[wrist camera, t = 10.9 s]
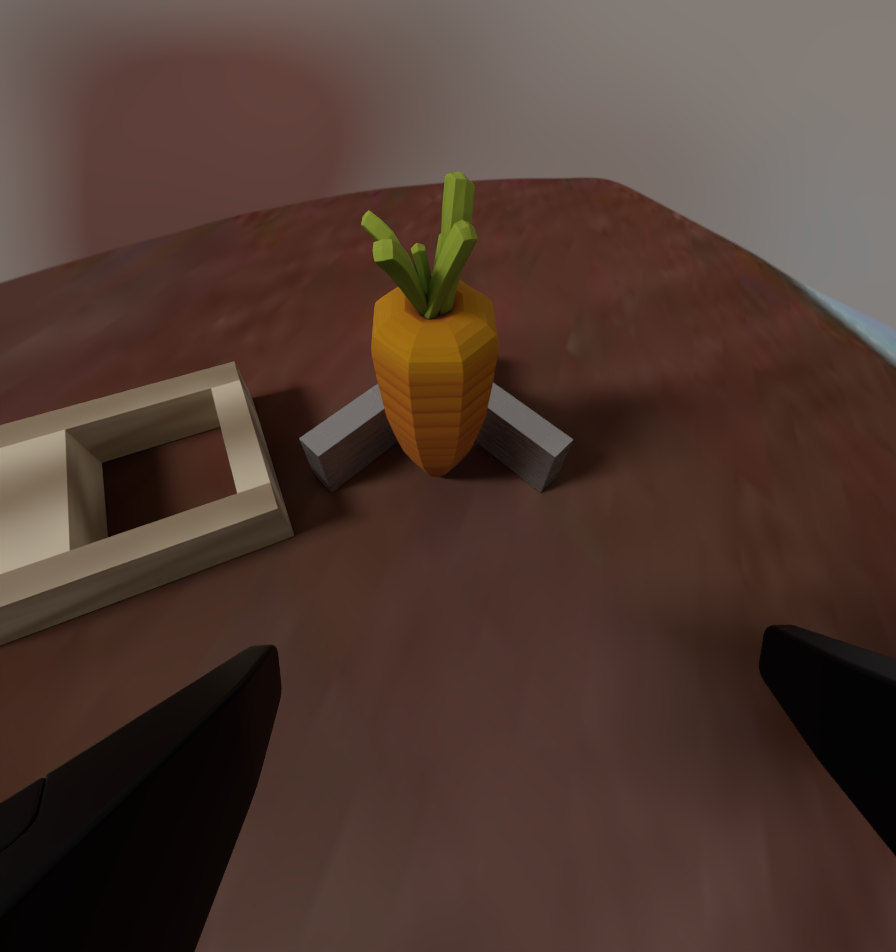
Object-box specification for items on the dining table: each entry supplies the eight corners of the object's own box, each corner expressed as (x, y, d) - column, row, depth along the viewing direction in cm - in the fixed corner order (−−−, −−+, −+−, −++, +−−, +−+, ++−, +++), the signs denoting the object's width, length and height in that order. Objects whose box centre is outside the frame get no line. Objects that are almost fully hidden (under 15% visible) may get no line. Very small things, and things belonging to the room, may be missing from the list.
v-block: (559, 493, 25) (577, 457, 22) (311, 492, 25) (295, 456, 22) (540, 374, 30) (552, 332, 27) (330, 373, 30) (319, 329, 27)
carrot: (412, 525, 24) (378, 267, 11) (380, 453, 26) (320, 169, 14) (497, 491, 25) (555, 220, 12) (458, 424, 28) (473, 137, 15)
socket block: (294, 535, 24) (277, 508, 21) (-23, 654, 20) (-89, 638, 18) (252, 397, 28) (234, 361, 26) (-12, 475, 25) (-63, 442, 22)
